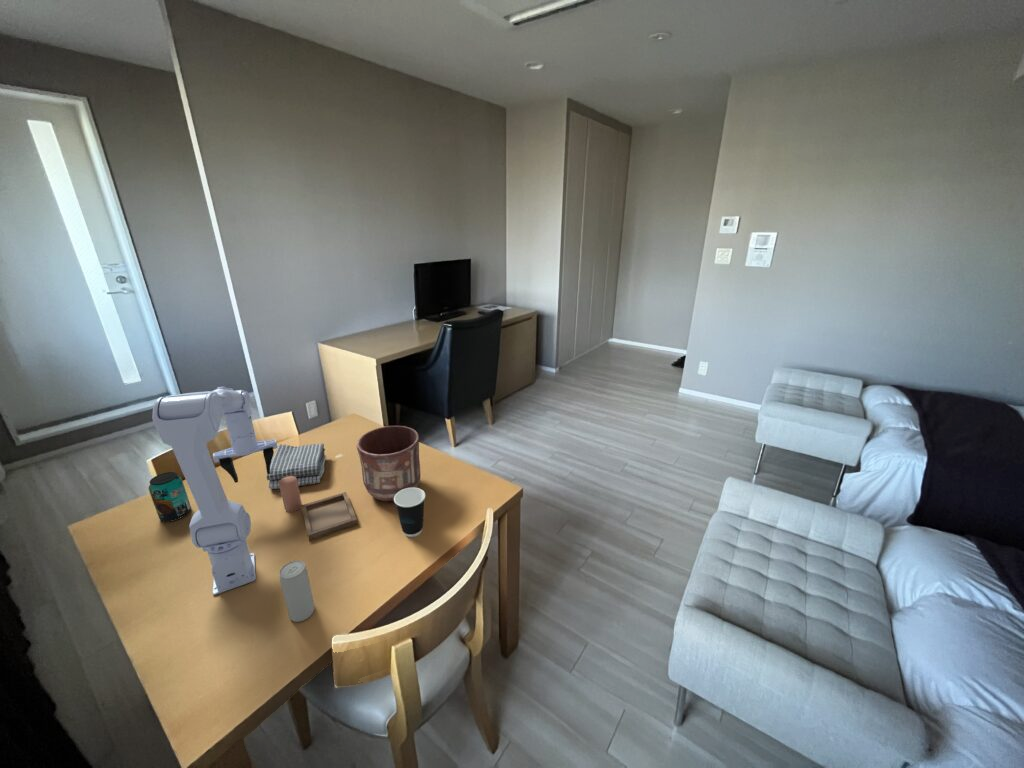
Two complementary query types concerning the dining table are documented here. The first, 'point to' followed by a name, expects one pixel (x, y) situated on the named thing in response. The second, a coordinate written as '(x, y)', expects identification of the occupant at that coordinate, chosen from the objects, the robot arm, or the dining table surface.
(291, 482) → the dowel
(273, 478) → the towel
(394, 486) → the pottery
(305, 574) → the beverage can
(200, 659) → the dining table surface
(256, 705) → the dining table surface
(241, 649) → the dining table surface
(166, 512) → the beverage can
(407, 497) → the dixie cup
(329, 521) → the tray
